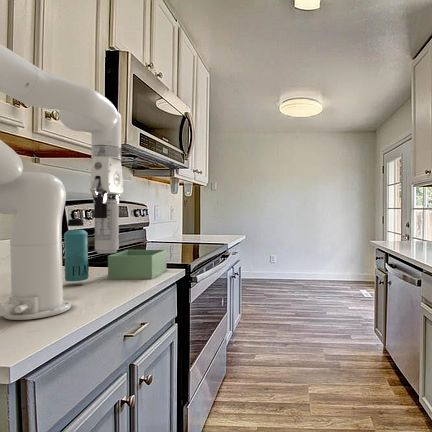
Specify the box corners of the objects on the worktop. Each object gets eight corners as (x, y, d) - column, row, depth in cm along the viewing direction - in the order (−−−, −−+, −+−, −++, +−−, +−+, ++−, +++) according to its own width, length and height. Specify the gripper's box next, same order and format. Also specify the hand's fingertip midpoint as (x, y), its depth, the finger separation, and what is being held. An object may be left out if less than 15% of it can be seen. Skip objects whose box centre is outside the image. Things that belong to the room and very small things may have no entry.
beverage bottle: (69, 287, 104) (68, 219, 103) (60, 284, 108) (59, 218, 107) (93, 283, 109) (92, 218, 109) (83, 280, 113) (82, 218, 113)
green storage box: (152, 278, 117) (151, 255, 116) (108, 279, 116) (107, 255, 116) (166, 270, 132) (166, 249, 132) (127, 270, 131) (127, 249, 131)
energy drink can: (123, 251, 103) (123, 199, 103) (107, 254, 97) (106, 199, 97) (106, 250, 105) (106, 199, 105) (89, 253, 99) (89, 199, 99)
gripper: (105, 149, 92) (105, 218, 92) (132, 158, 109) (132, 217, 110) (75, 148, 92) (76, 218, 92) (107, 158, 109) (108, 217, 109)
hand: (106, 217), depth 101 cm, fingers closed on energy drink can, 6 cm apart
